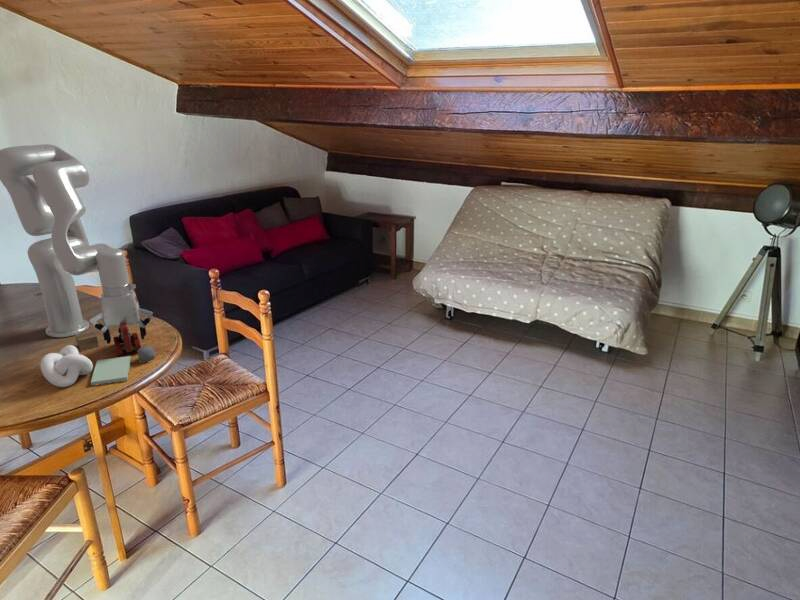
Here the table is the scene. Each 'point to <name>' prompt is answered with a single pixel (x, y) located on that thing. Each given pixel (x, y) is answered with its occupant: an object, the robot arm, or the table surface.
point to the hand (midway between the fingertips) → (126, 339)
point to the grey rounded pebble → (146, 354)
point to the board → (111, 370)
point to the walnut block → (86, 340)
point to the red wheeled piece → (126, 340)
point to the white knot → (65, 366)
